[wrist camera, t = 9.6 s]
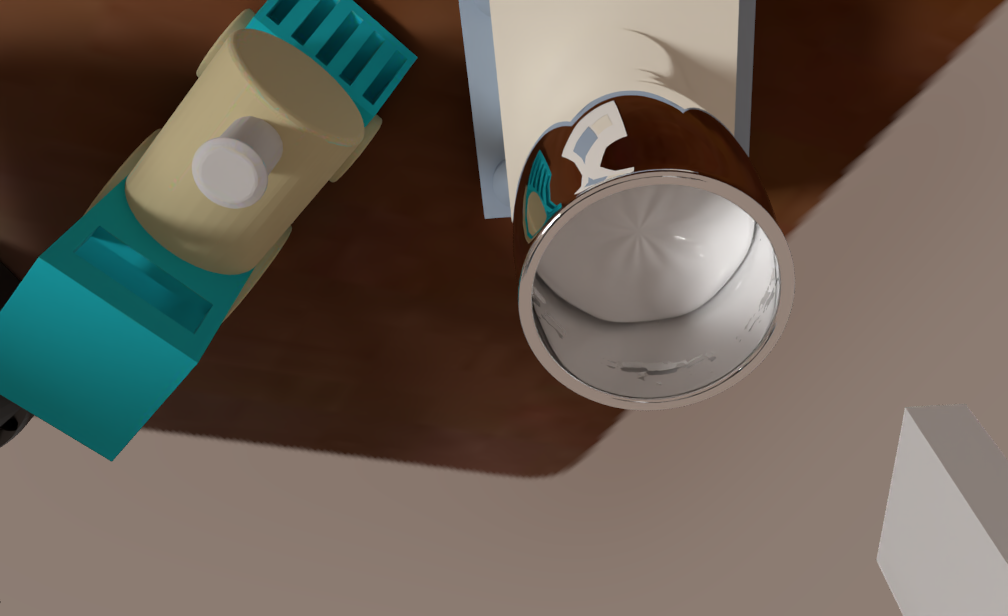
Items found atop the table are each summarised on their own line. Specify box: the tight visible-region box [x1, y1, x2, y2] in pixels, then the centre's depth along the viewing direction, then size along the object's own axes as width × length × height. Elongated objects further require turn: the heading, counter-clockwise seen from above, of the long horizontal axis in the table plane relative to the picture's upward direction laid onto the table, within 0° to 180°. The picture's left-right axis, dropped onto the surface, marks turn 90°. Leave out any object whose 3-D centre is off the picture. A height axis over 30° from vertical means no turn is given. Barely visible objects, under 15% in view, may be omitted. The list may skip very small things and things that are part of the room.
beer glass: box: [513, 29, 795, 411], centre depth 27 cm, size 7×7×15 cm
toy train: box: [0, 0, 418, 461], centre depth 37 cm, size 8×17×15 cm, turn 138°
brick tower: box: [459, 0, 756, 223], centre depth 37 cm, size 12×12×8 cm
